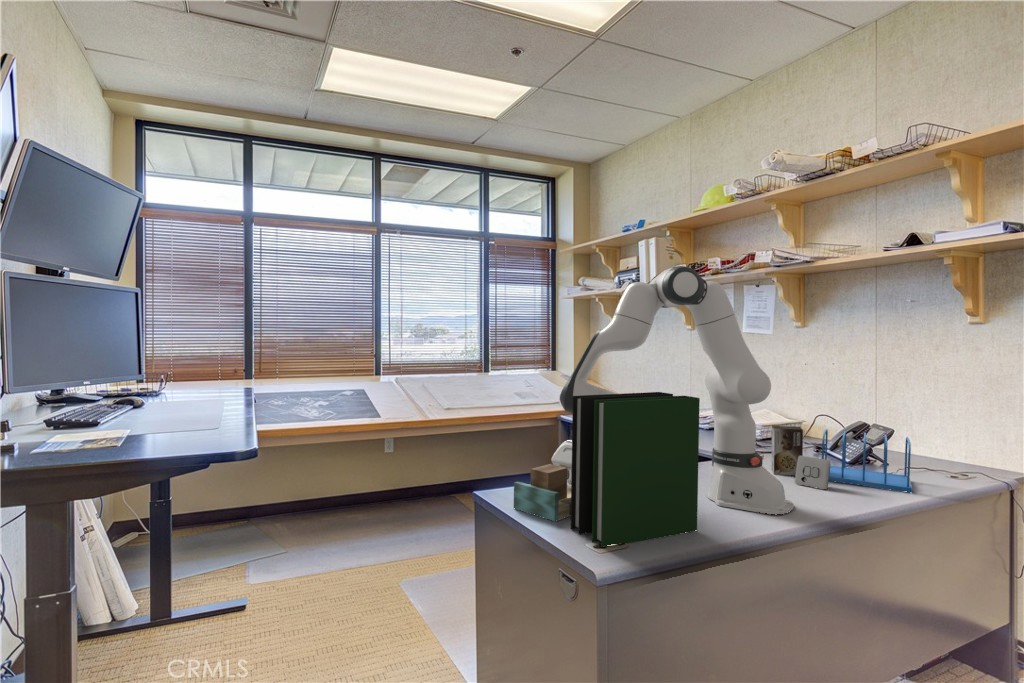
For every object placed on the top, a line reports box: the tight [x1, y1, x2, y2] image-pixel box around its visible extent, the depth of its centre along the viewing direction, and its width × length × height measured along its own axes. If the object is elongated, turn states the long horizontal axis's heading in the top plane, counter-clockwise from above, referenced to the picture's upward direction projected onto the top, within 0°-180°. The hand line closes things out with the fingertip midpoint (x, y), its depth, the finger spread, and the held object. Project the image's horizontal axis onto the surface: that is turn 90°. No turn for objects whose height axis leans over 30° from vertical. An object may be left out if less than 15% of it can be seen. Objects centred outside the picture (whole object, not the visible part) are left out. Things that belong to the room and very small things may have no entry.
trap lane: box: [513, 481, 571, 522], centre depth 147 cm, size 14×20×7 cm
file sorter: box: [821, 428, 913, 493], centre depth 179 cm, size 25×17×15 cm
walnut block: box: [530, 463, 568, 500], centre depth 144 cm, size 6×8×8 cm
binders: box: [570, 391, 701, 548], centre depth 130 cm, size 27×15×32 cm, turn 116°
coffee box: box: [770, 424, 804, 477], centre depth 187 cm, size 9×6×16 cm
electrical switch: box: [794, 455, 832, 490], centre depth 172 cm, size 9×5×9 cm, turn 41°
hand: (572, 484), depth 151 cm, fingers closed
